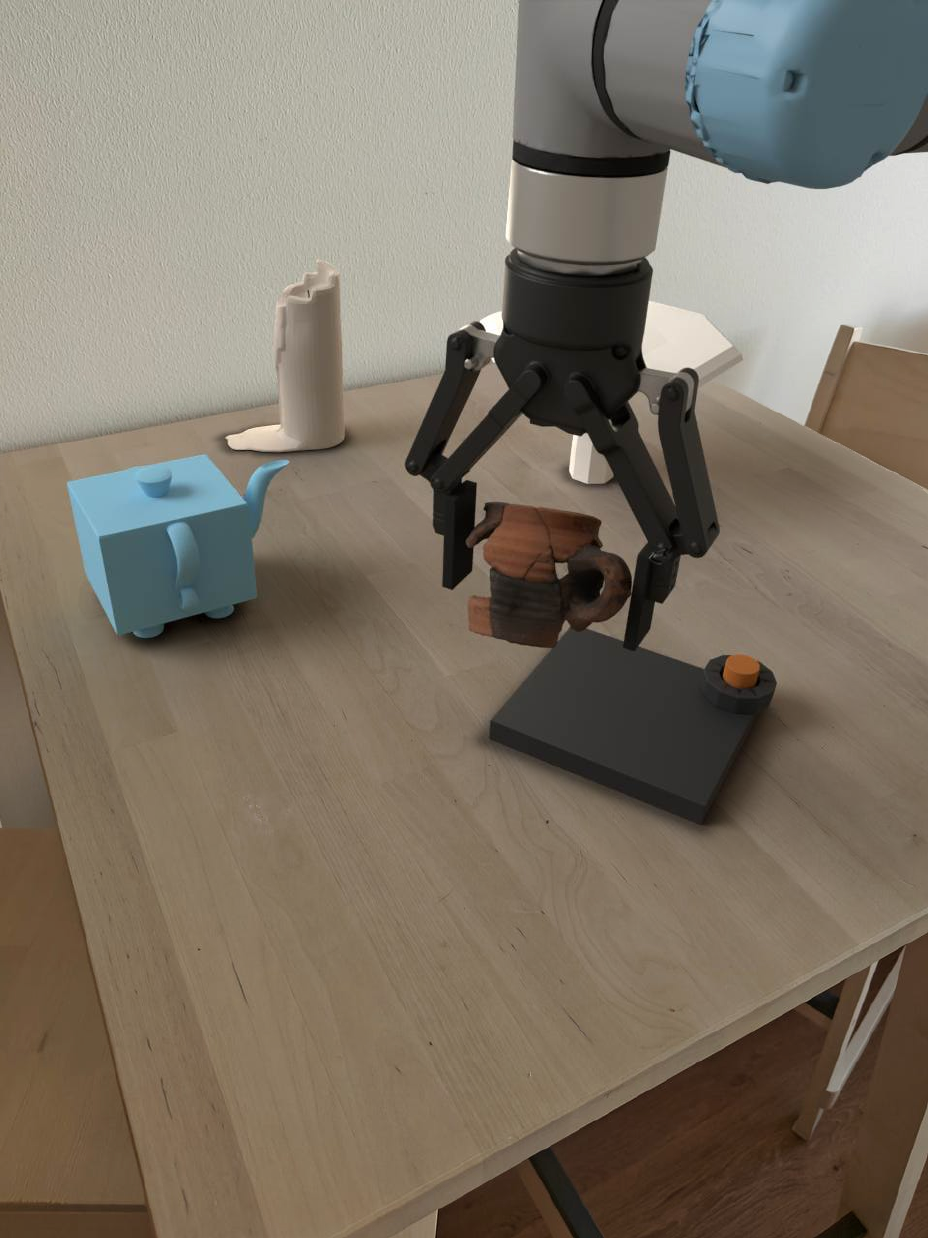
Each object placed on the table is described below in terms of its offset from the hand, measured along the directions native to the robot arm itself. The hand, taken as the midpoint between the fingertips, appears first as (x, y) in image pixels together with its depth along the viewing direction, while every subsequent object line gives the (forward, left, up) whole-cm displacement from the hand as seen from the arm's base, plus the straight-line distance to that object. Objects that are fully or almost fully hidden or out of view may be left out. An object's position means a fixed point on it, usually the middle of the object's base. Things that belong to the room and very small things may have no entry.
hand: (543, 607), depth 63 cm
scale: (-3, -11, -16) cm, 20 cm away
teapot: (+37, -7, -17) cm, 41 cm away
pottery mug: (0, 0, -1) cm, 1 cm away
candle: (+51, -37, -17) cm, 65 cm away
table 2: (+17, -49, -17) cm, 55 cm away
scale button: (-10, -17, -13) cm, 24 cm away
